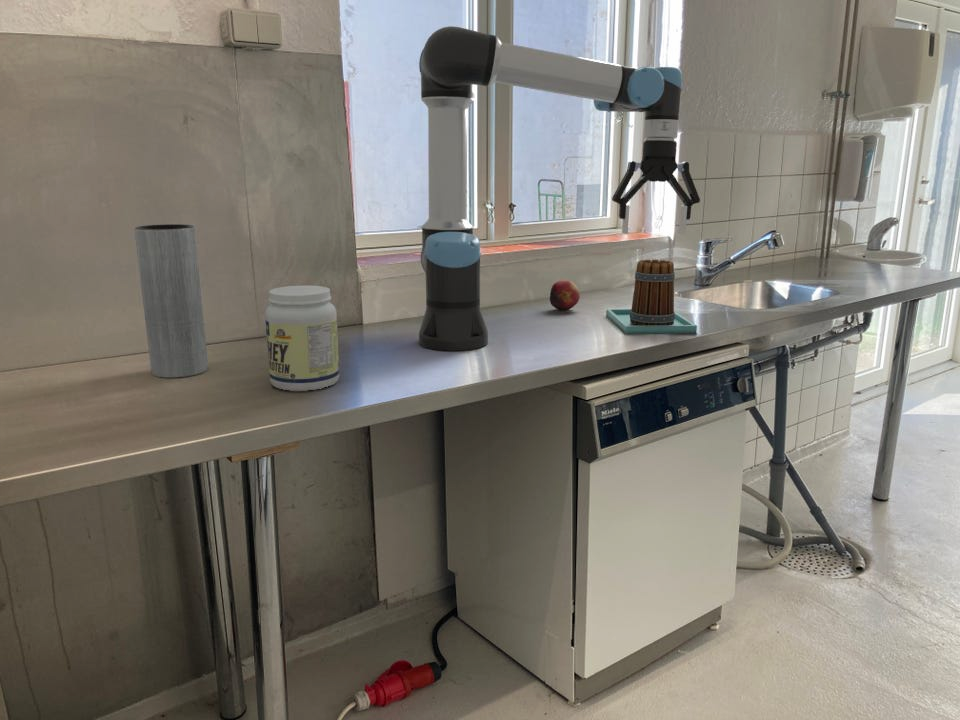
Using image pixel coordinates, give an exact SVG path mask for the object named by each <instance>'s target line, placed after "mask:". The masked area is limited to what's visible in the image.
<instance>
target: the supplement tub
mask: <svg viewBox="0 0 960 720" xmlns="http://www.w3.org/2000/svg"><path fill="white" fill-rule="evenodd" d="M268 297H269V298H268V302H269V303H270V305H268V306H267V308H266V310H265V312H264V314H265V315H264V318H265V319H264V320H265V321H264V322H265V332H266V344H267V346H266V347H267V360H268V371H269V373H268V374H269V376H268V377H269V381H270V383H271V385H272V386H273V387H275V388H276V389H278V388H279V389H278V390H281V389H283V390H282V391H285V390H290V391H289V392H307V391H306V390H314V389H320V388H324V387H327V388H329V387H328V386H330V387H332V386H333V385H335V384H336V383H337V382H338V381H339V379H340V359H339V336H338V316H337V315H338V312H337V308H336V307H335V305H334V304H332V302H331V301H330V300H331V299H332V296H331V288H329V287H326V286H321V285H305V284H303V285H287V286H281V287H275V288H272V289H270V290H269V291H268ZM331 385H332V386H331ZM324 389H325V388H324ZM320 390H321V389H320ZM314 391H315V390H314Z"/></svg>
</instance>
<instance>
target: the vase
mask: <svg viewBox="0 0 960 720" xmlns="http://www.w3.org/2000/svg"><path fill="white" fill-rule="evenodd" d="M195 229H196V228H195V226H194V225H192V224H173V223H171V224H170V223H169V224H168V223H167V224H149V225H147V224H146V225H140V226H135V228H134V238H135V247H136V252H137V254H136V255H137V262H138V271H139V278H140V287H141V294H142V304H143V311H144V312H143V314H144V321H145V329H146V338H147V339H146V340H147V345H148V346H147V347H148V354H149V362H150V369H151V370H150V371H151V374H152V375H153V376H155V377H158V378H162V379H176V378H177V379H179V378H186V377H187V378H188V377H192V376H196V375H201V374H202V373H204V372H206V371H207V370H208V369H209V359H208V352H207V351H208V350H207V340H206V330H205V319H204V318H205V317H204V311H203V310H204V307H203V300H202V290H201V288H202V286H201V279H200V277H201V276H200V271H199V269H200V268H199V258H198V250H197V240H196V239H197V238H196V237H197V236H196V230H195Z"/></svg>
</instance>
